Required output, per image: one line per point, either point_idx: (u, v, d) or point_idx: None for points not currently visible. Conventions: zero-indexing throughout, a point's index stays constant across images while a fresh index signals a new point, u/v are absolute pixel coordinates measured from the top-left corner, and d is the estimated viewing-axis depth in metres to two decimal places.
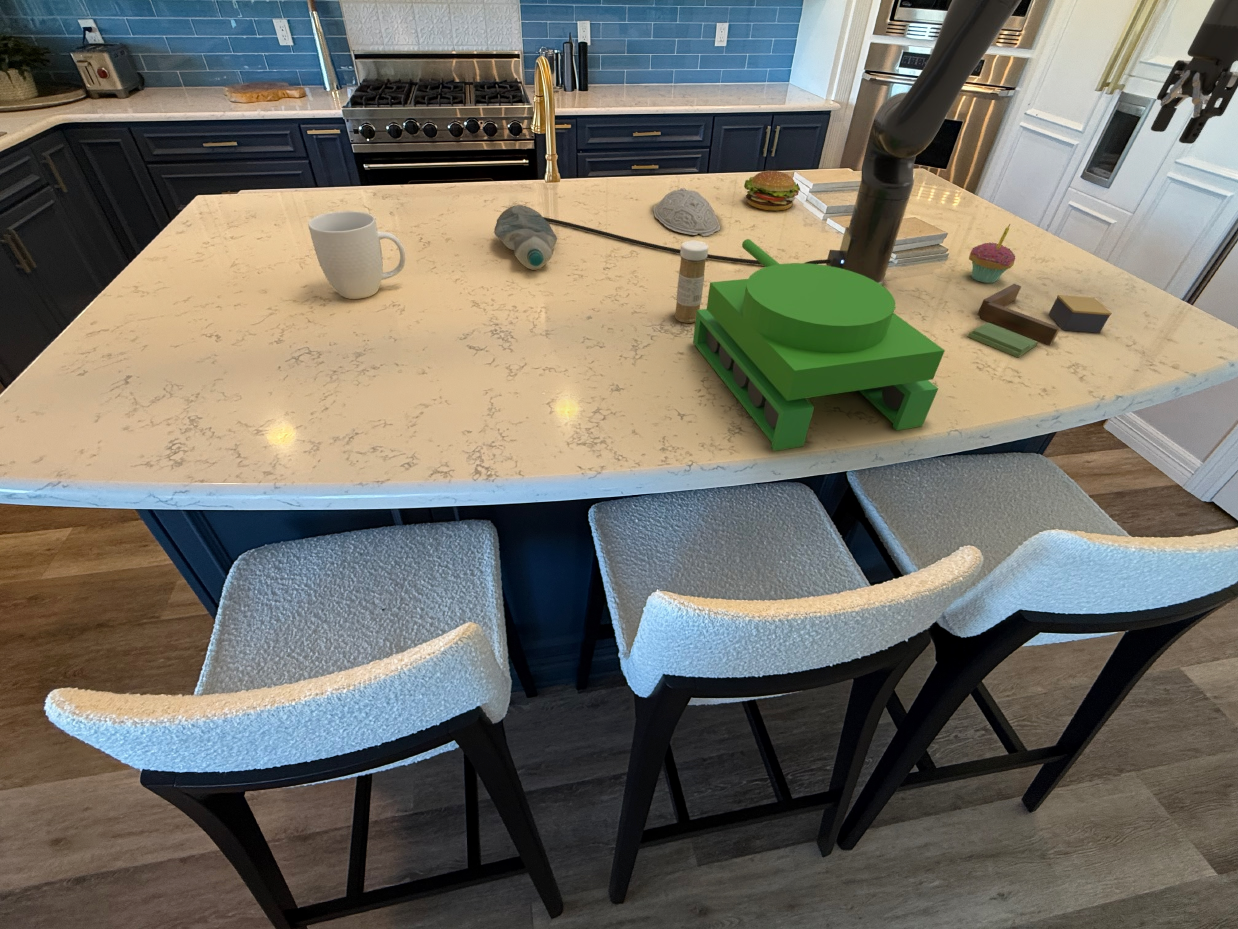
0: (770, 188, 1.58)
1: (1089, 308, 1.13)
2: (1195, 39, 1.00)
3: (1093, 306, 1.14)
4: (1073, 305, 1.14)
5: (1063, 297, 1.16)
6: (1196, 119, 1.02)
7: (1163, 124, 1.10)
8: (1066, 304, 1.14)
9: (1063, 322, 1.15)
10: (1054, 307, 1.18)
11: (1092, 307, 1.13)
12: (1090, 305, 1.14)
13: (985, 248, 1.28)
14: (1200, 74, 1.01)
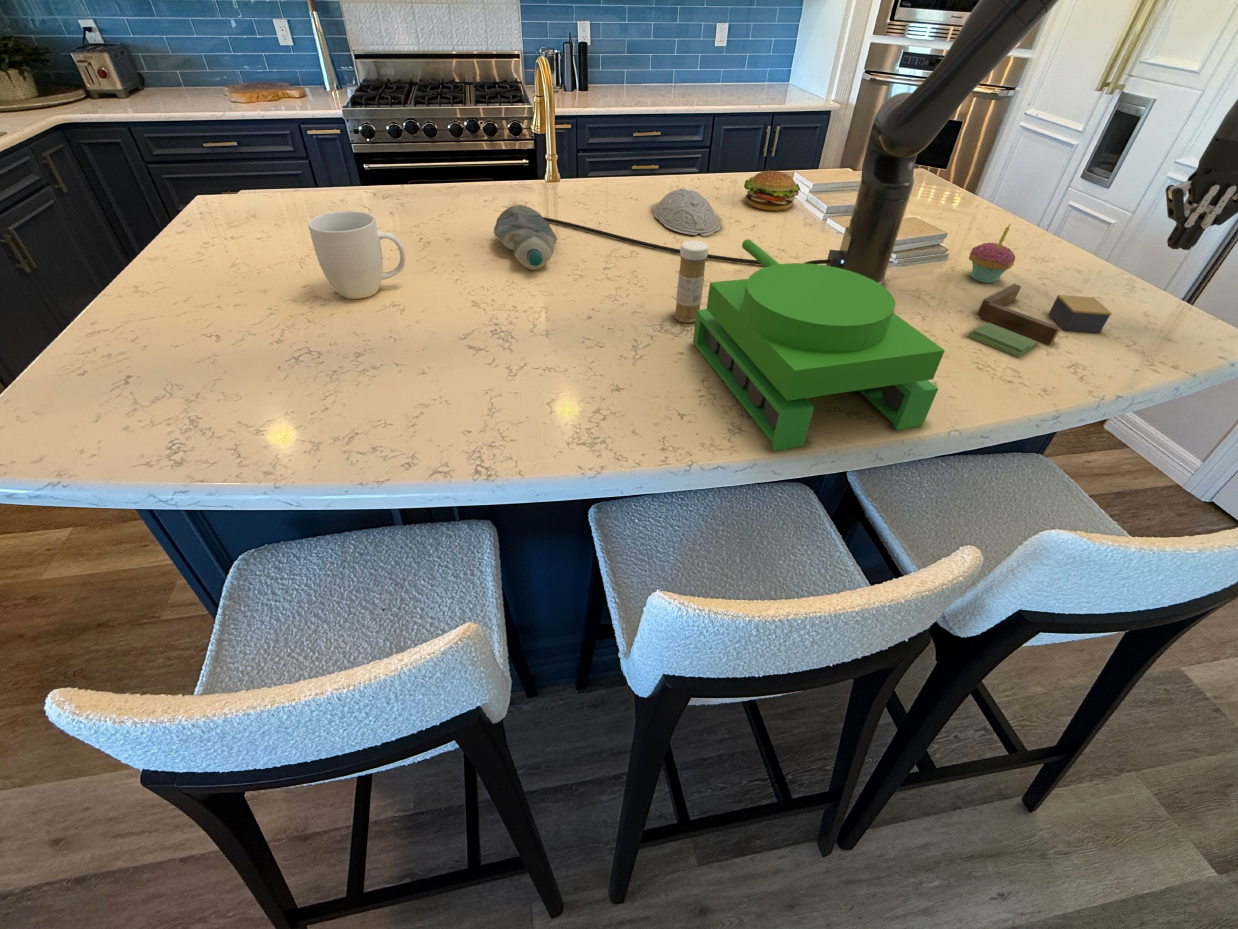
0: (770, 188, 1.58)
1: (1089, 308, 1.13)
2: None
3: (1093, 306, 1.14)
4: (1073, 305, 1.14)
5: (1063, 297, 1.16)
6: None
7: (1186, 242, 1.06)
8: (1066, 304, 1.14)
9: (1063, 322, 1.15)
10: (1054, 307, 1.18)
11: (1092, 307, 1.13)
12: (1090, 305, 1.14)
13: (985, 248, 1.28)
14: None
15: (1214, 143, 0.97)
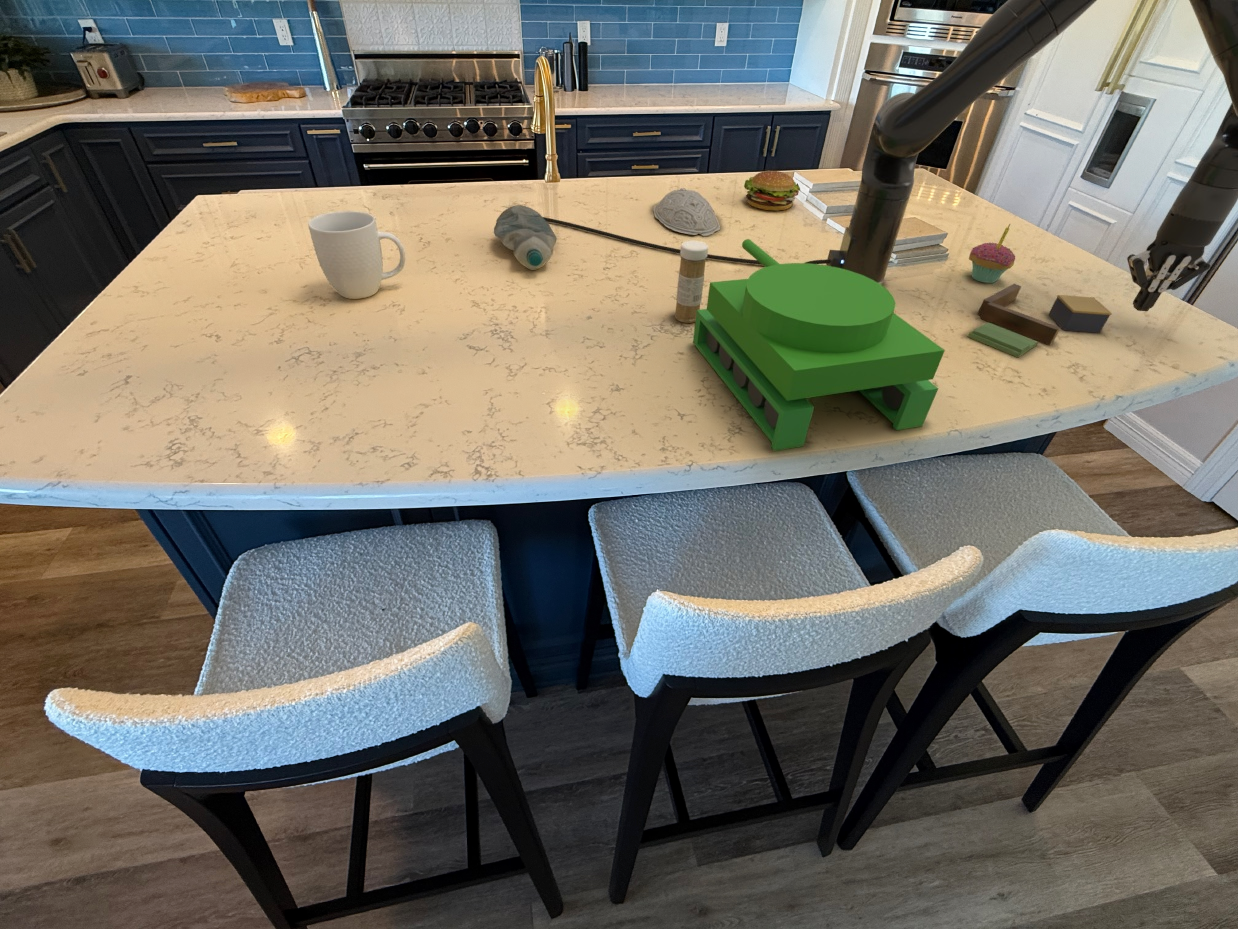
0: (770, 188, 1.58)
1: (1089, 308, 1.13)
2: None
3: (1093, 306, 1.14)
4: (1073, 305, 1.14)
5: (1063, 297, 1.16)
6: None
7: None
8: (1066, 304, 1.14)
9: (1063, 322, 1.15)
10: (1054, 307, 1.18)
11: (1092, 307, 1.13)
12: (1090, 305, 1.14)
13: (985, 248, 1.28)
14: None
15: (1170, 217, 1.04)
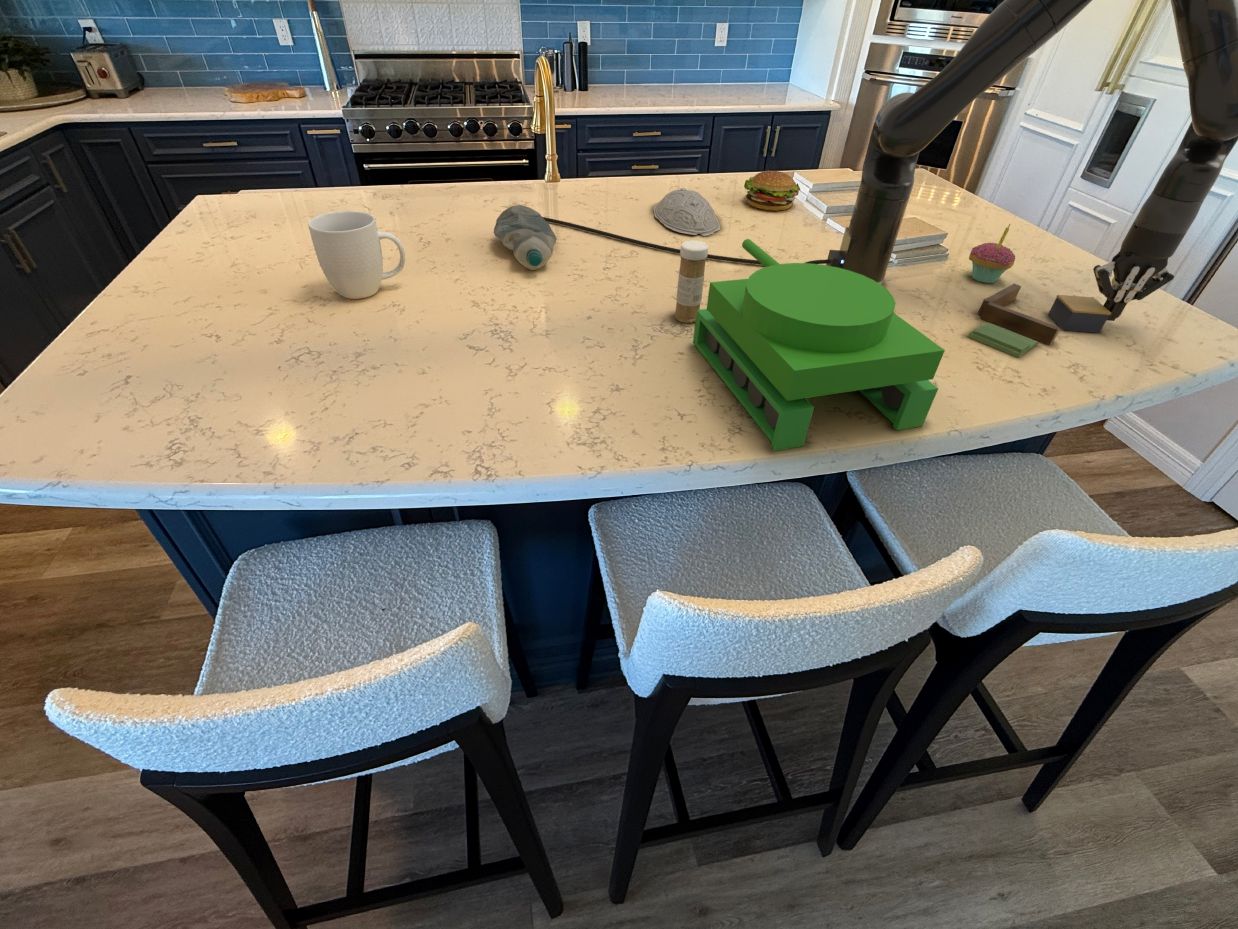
0: (770, 188, 1.58)
1: (1089, 308, 1.13)
2: None
3: (1093, 306, 1.14)
4: (1073, 305, 1.14)
5: (1063, 297, 1.16)
6: (1109, 298, 1.14)
7: (1111, 313, 1.15)
8: (1066, 304, 1.14)
9: (1063, 322, 1.15)
10: (1054, 307, 1.18)
11: (1092, 307, 1.13)
12: (1090, 305, 1.14)
13: (985, 248, 1.28)
14: None
15: (1133, 229, 1.06)
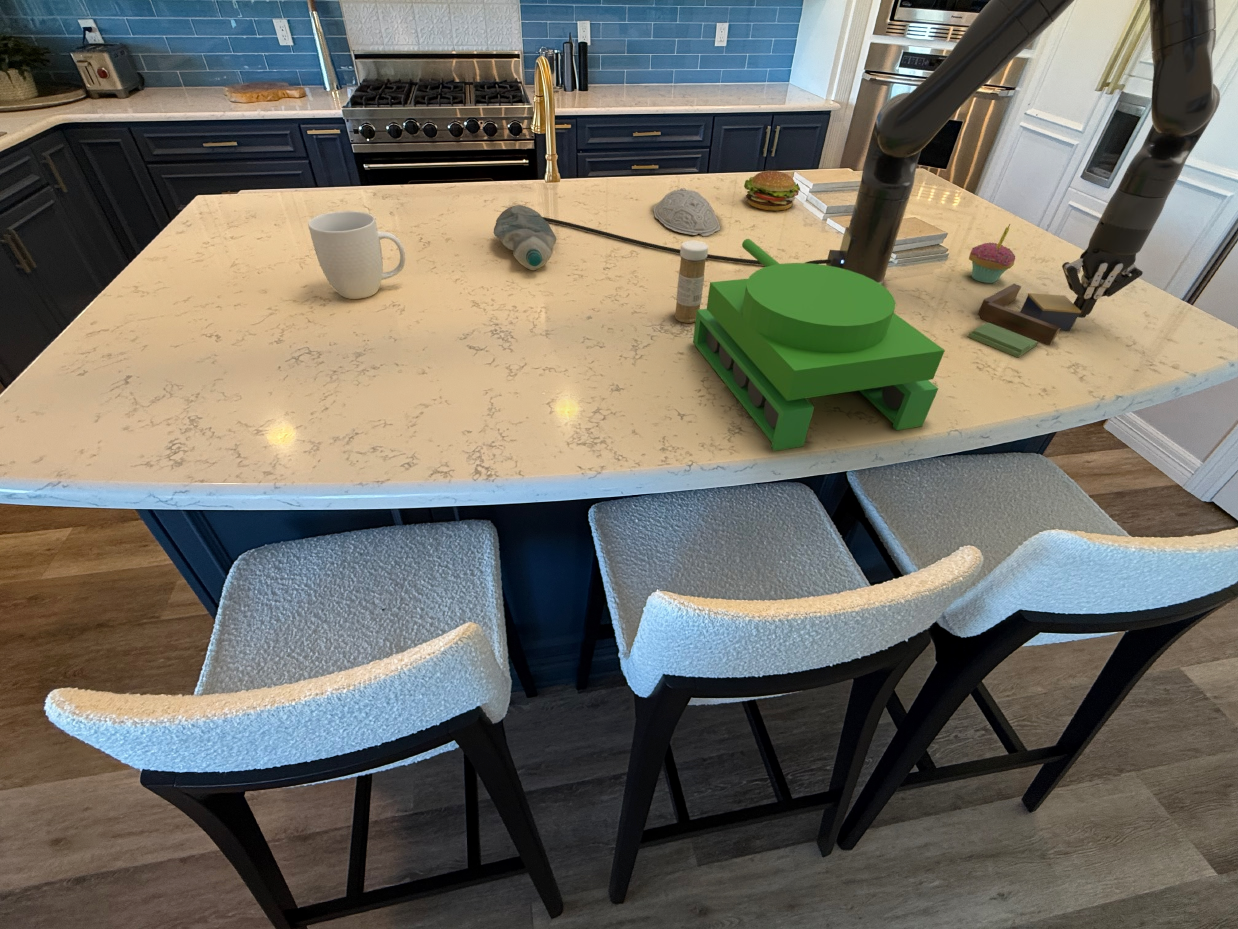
0: (770, 188, 1.58)
1: (1059, 306, 1.13)
2: None
3: (1063, 304, 1.14)
4: (1043, 303, 1.14)
5: (1034, 295, 1.16)
6: (1079, 295, 1.14)
7: None
8: (1036, 302, 1.15)
9: None
10: (1025, 305, 1.18)
11: (1062, 305, 1.14)
12: (1060, 303, 1.14)
13: (985, 248, 1.28)
14: None
15: (1100, 226, 1.06)
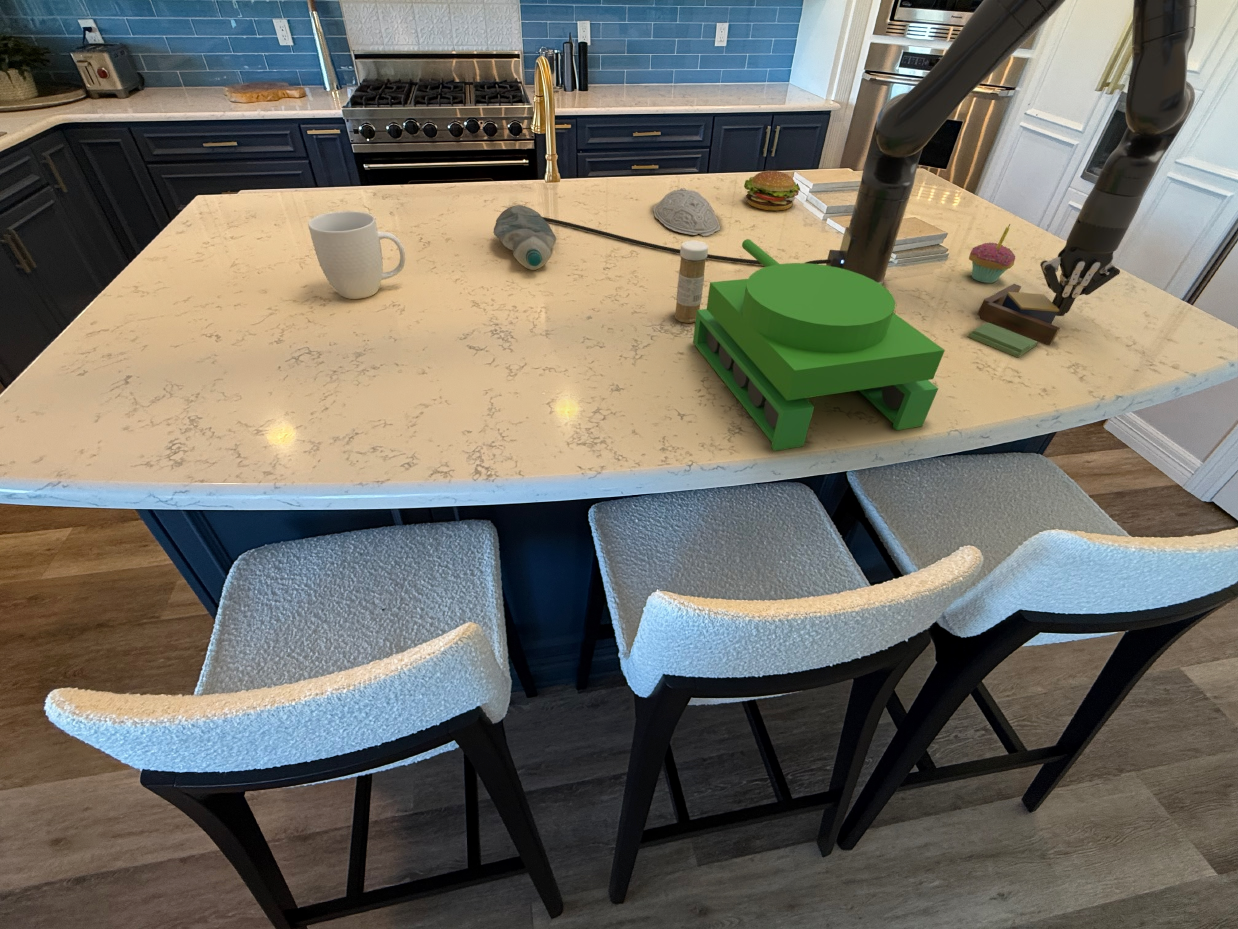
0: (770, 188, 1.58)
1: (1037, 305, 1.13)
2: None
3: (1042, 303, 1.14)
4: (1022, 302, 1.14)
5: (1013, 294, 1.17)
6: (1058, 294, 1.14)
7: None
8: (1015, 301, 1.15)
9: None
10: (1004, 304, 1.18)
11: (1040, 304, 1.14)
12: (1039, 302, 1.14)
13: (985, 248, 1.28)
14: None
15: (1077, 224, 1.06)
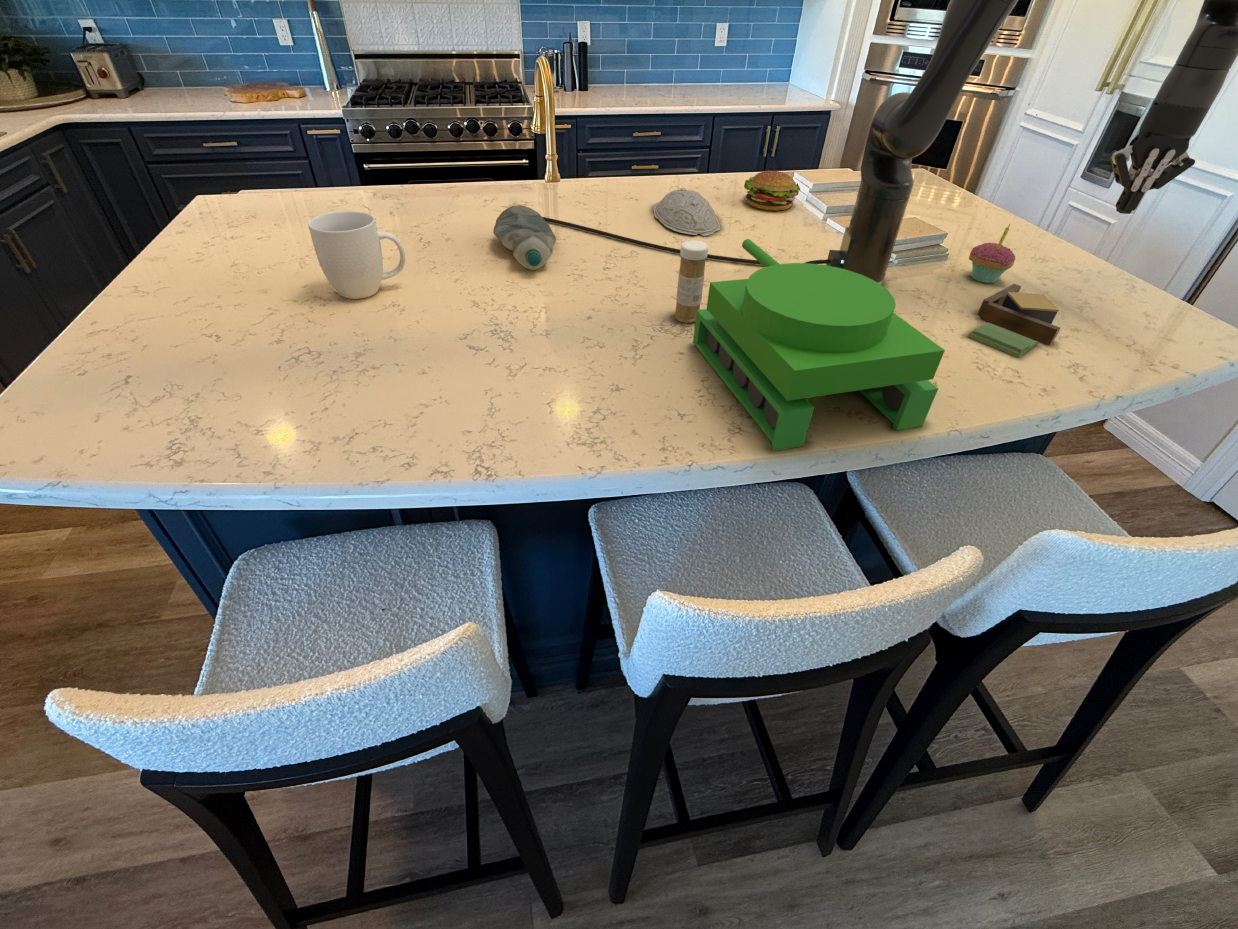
0: (770, 188, 1.58)
1: (1037, 305, 1.13)
2: None
3: (1041, 303, 1.14)
4: (1021, 302, 1.14)
5: (1012, 294, 1.17)
6: None
7: None
8: (1015, 301, 1.15)
9: None
10: (1004, 304, 1.18)
11: (1040, 304, 1.14)
12: (1038, 302, 1.14)
13: (985, 248, 1.28)
14: None
15: (1153, 107, 1.00)
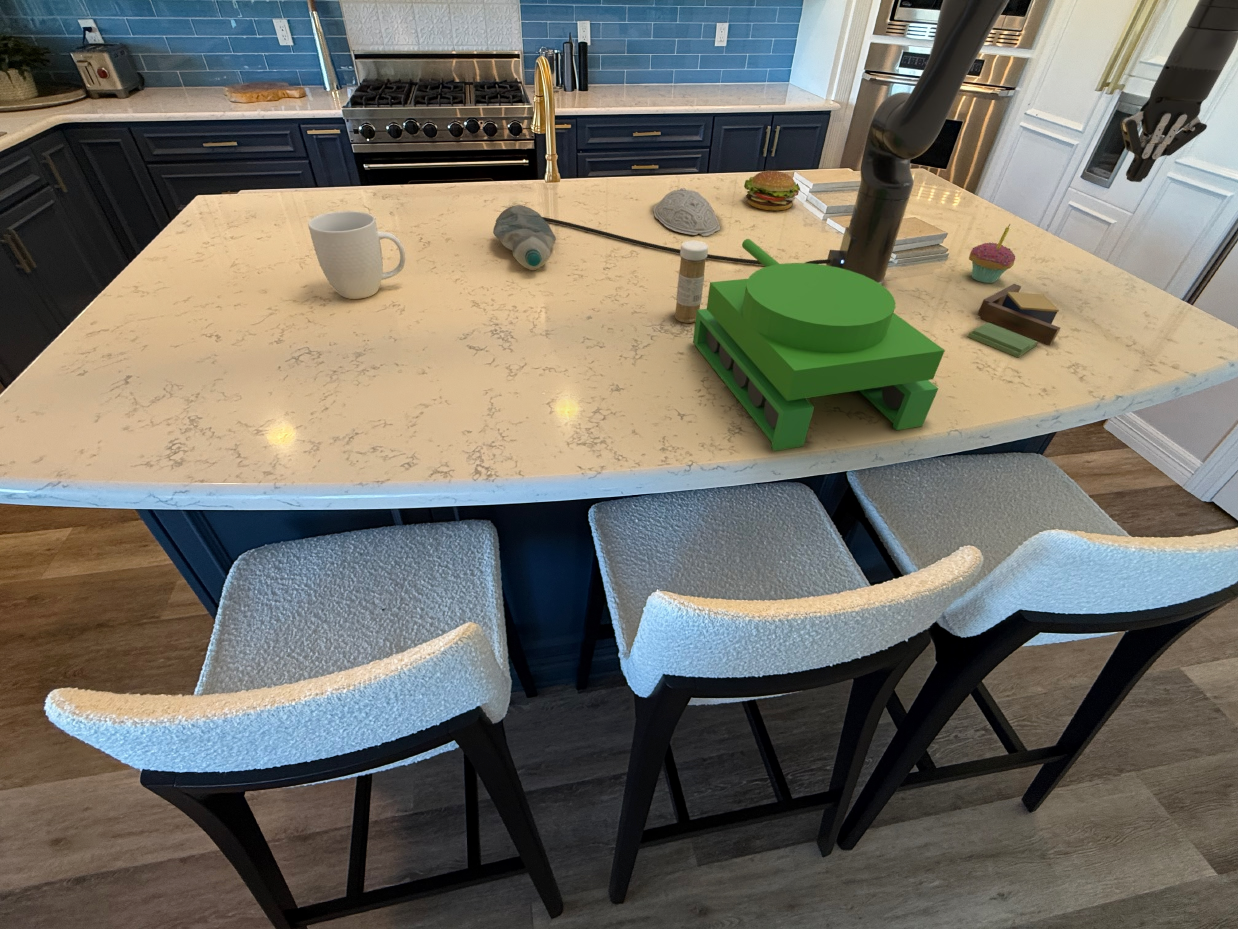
0: (770, 188, 1.58)
1: (1037, 305, 1.13)
2: None
3: (1041, 303, 1.14)
4: (1021, 302, 1.14)
5: (1012, 294, 1.17)
6: None
7: None
8: (1015, 301, 1.15)
9: None
10: (1004, 304, 1.18)
11: (1040, 304, 1.14)
12: (1038, 302, 1.14)
13: (985, 248, 1.28)
14: None
15: (1164, 71, 0.99)
